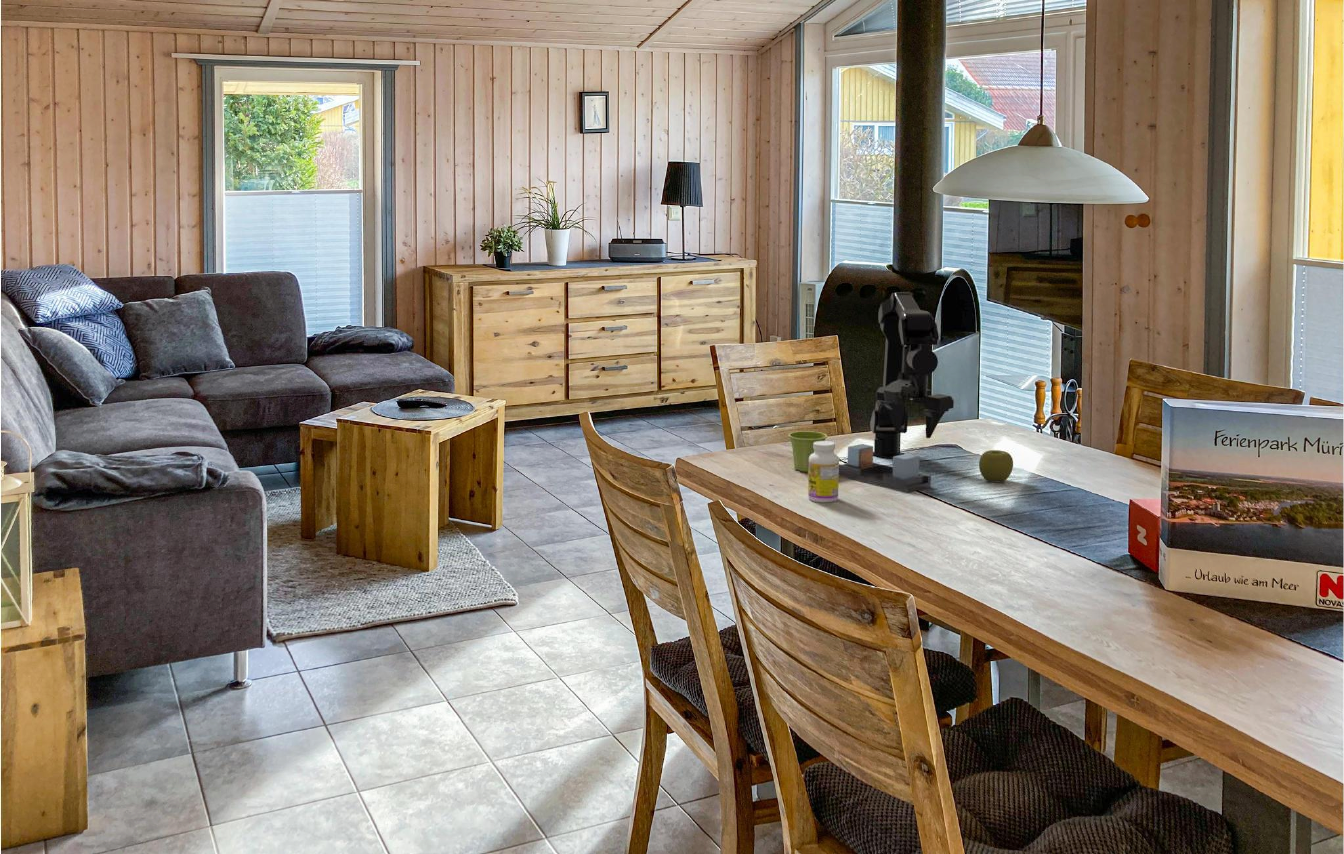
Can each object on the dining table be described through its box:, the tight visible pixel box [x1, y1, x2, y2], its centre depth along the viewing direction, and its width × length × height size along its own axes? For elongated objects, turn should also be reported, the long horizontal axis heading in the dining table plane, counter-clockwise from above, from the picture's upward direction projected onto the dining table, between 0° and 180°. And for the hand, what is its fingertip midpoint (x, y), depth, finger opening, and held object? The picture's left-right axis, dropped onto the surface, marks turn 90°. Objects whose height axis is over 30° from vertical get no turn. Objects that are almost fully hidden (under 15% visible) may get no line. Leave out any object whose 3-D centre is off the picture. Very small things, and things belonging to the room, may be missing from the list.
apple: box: [978, 449, 1014, 483], centre depth 281 cm, size 8×8×7 cm
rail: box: [839, 443, 932, 493], centre depth 281 cm, size 8×22×7 cm, turn 38°
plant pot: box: [788, 430, 828, 473], centre depth 294 cm, size 9×9×9 cm
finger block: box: [892, 453, 920, 480], centre depth 276 cm, size 5×4×6 cm
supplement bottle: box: [807, 440, 840, 504], centre depth 265 cm, size 7×7×13 cm
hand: (912, 434), depth 276 cm, fingers open, 9 cm apart
